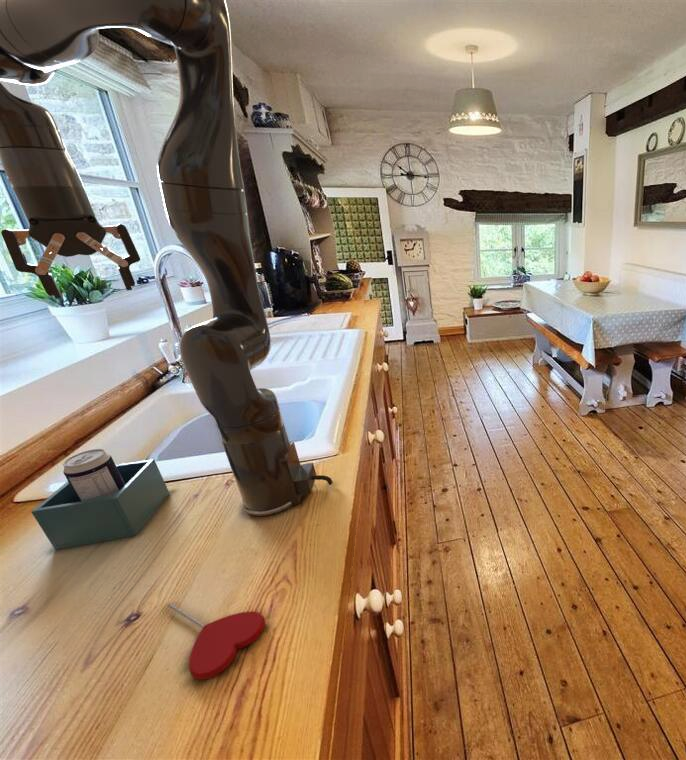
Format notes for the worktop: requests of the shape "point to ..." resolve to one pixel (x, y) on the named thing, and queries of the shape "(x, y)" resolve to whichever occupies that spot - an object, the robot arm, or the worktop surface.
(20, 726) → the worktop surface
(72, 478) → the beverage can
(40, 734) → the worktop surface
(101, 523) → the bin
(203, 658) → the lollipop
